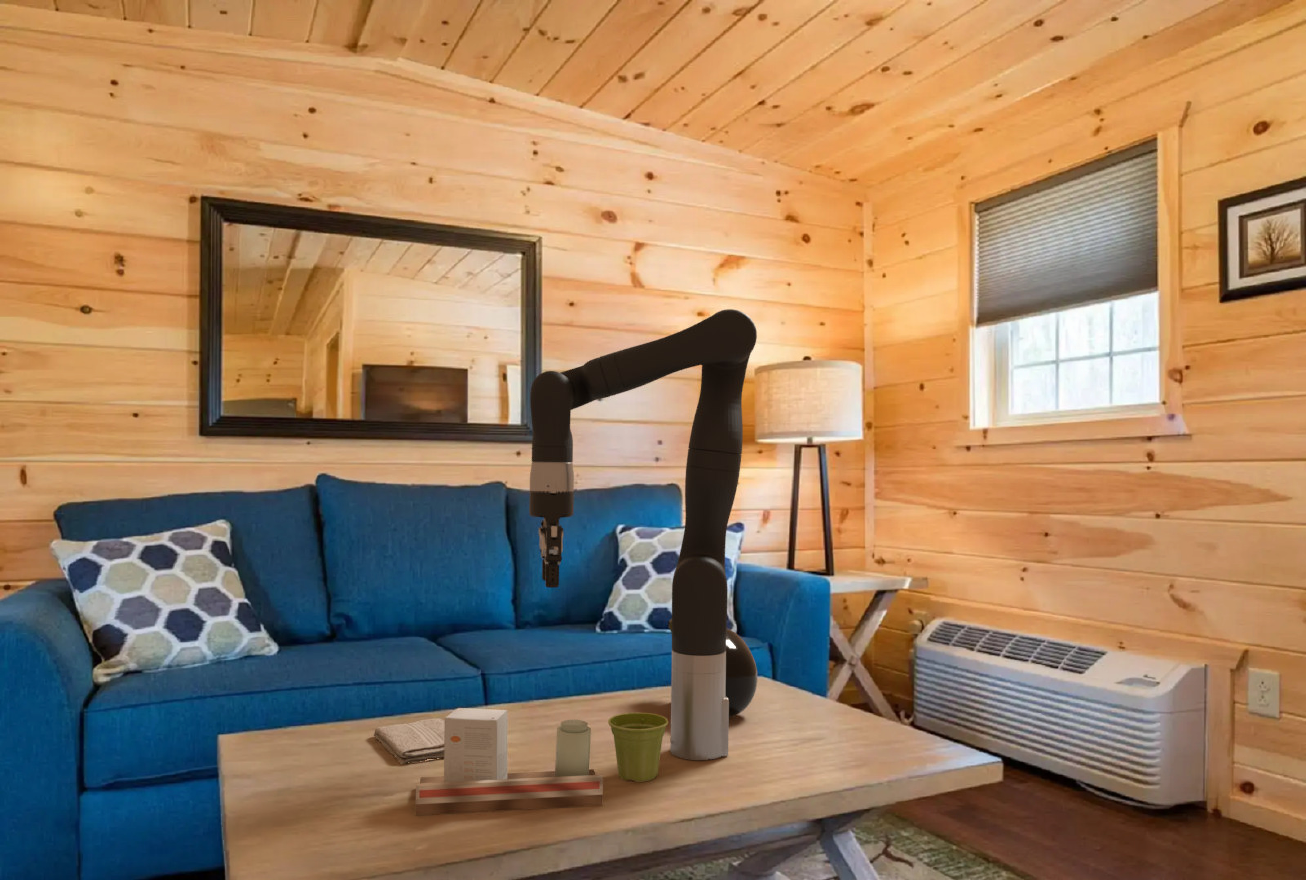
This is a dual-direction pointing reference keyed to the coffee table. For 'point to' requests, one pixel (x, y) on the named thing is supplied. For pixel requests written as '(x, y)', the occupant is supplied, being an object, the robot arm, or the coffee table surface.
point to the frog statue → (738, 673)
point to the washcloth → (414, 740)
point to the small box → (475, 745)
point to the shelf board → (508, 793)
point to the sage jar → (572, 748)
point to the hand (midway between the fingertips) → (550, 583)
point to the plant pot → (638, 744)
